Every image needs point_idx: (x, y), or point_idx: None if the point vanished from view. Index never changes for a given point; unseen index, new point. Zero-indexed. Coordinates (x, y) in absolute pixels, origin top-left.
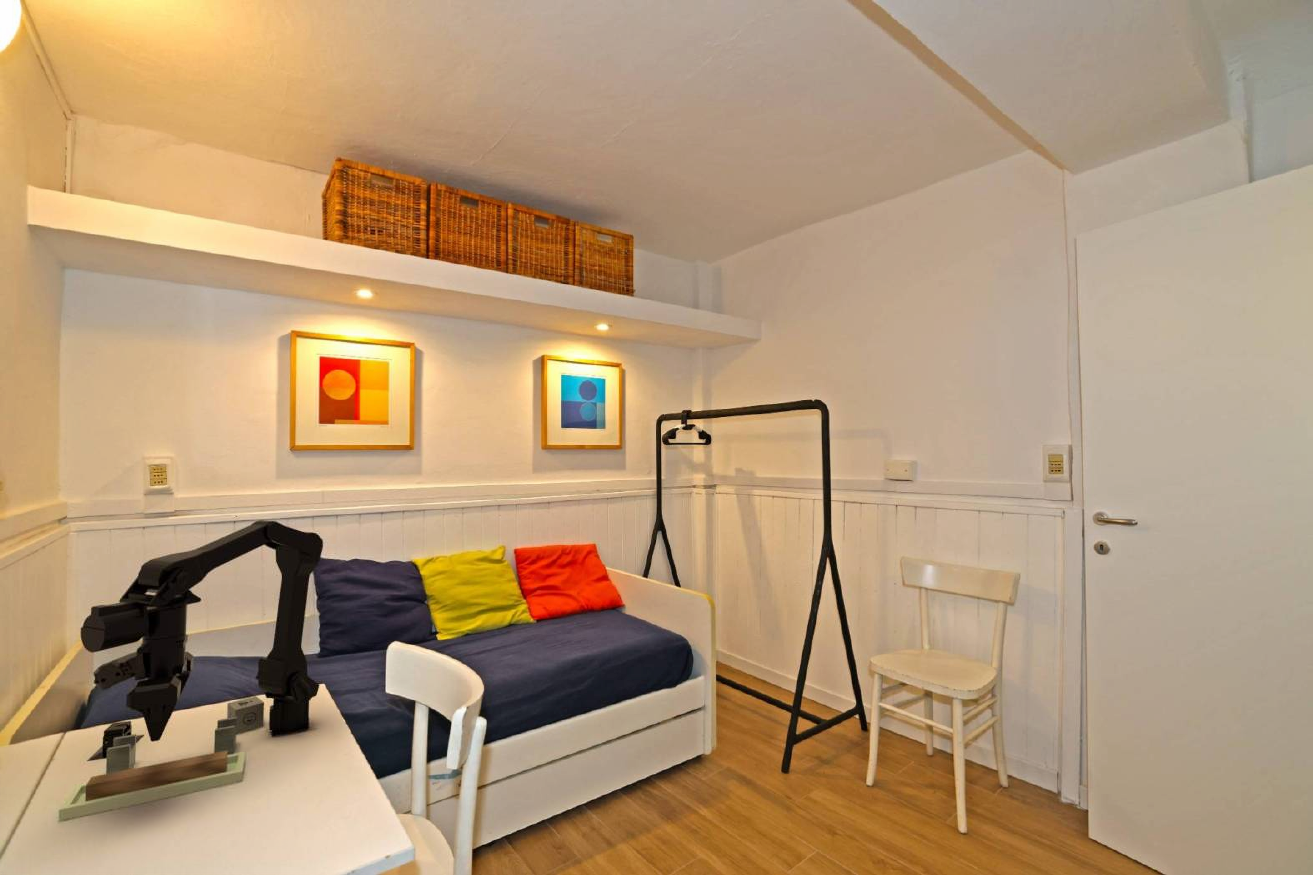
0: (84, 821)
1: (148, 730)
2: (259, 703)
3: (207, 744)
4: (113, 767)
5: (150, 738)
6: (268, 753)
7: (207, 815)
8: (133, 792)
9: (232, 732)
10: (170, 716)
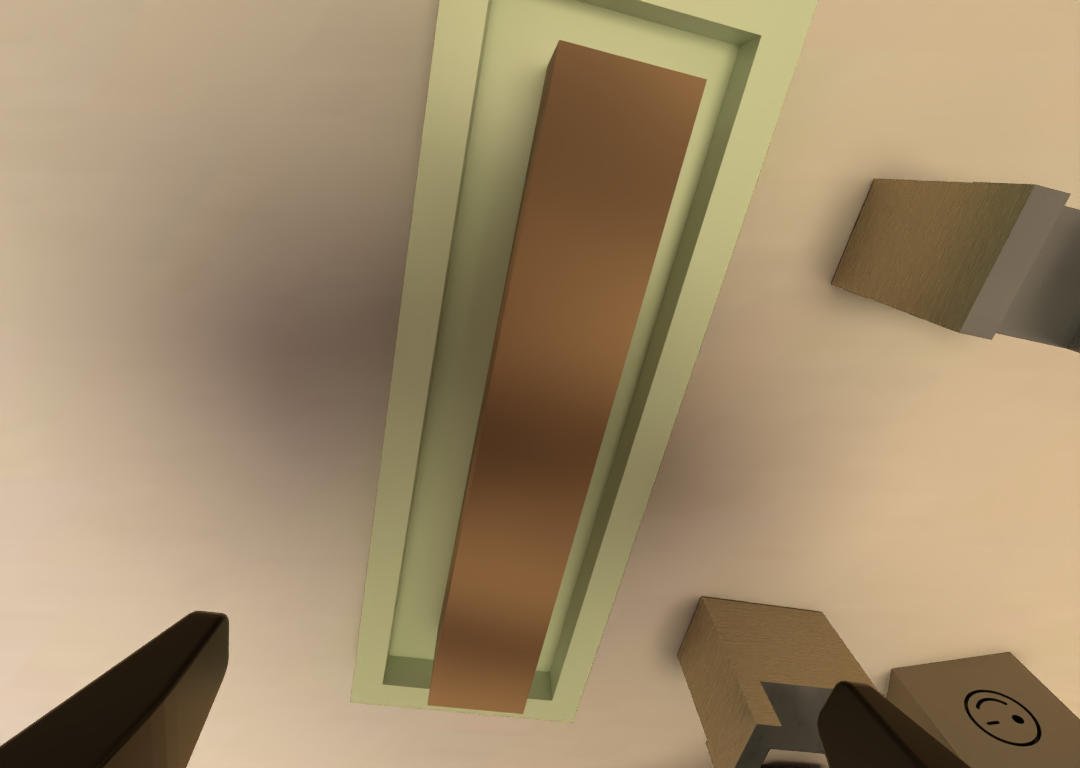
0: (360, 65)
1: (20, 740)
2: None
3: (888, 584)
4: (901, 219)
5: (159, 635)
6: (577, 742)
7: (91, 545)
8: (424, 307)
9: (713, 754)
10: (825, 748)
